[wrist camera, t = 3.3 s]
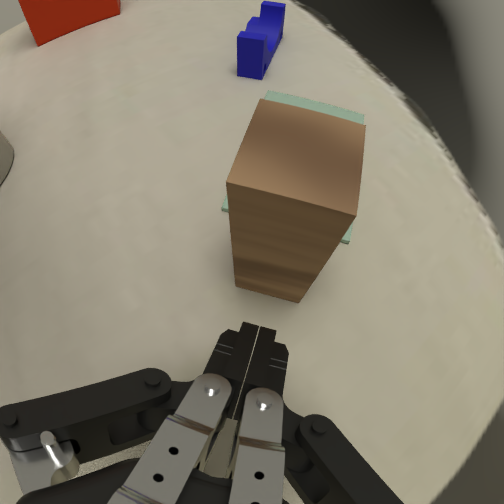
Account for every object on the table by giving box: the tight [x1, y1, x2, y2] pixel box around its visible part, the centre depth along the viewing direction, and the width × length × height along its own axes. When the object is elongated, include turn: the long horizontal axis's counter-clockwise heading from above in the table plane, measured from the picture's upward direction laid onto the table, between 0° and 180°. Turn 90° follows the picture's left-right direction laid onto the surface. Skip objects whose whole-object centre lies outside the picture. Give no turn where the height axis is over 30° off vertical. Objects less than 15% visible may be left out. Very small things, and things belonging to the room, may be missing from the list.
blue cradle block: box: [237, 1, 286, 80], centre depth 34 cm, size 12×4×6 cm, turn 164°
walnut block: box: [226, 99, 366, 303], centre depth 19 cm, size 5×5×14 cm
